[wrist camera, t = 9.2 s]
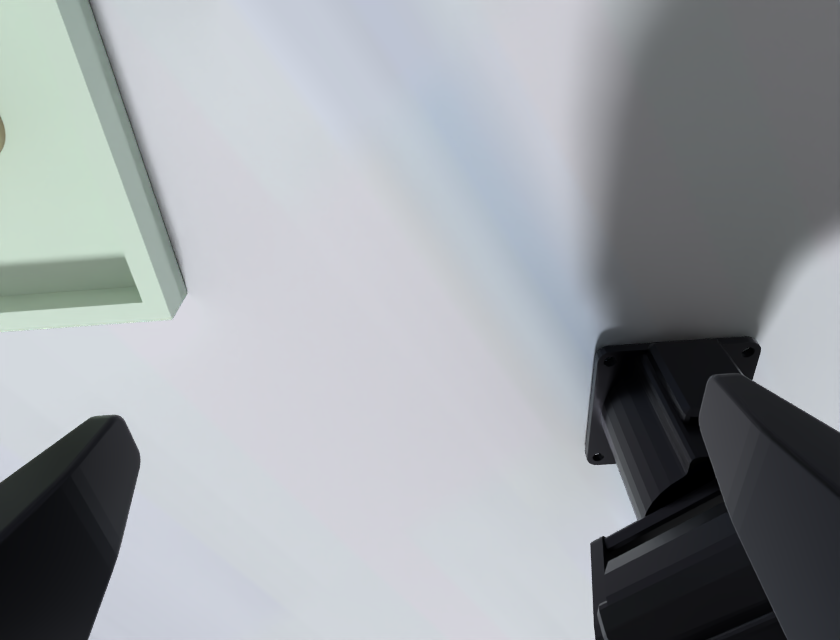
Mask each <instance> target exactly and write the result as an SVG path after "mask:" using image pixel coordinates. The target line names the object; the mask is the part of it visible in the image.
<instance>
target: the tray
mask: <svg viewBox="0 0 840 640" xmlns="http://www.w3.org/2000/svg"><path fill="white" fill-rule="evenodd" d="M0 117H1V119H2V121H3V124H4V128H5V134H6V138H5V145H4V147H3V149H2V151H1V153H0V332H10V331H24V330H38V329H51V328H65V327H79V326H93V325H107V324H121V323H135V322H149V321H163V320H172V319H173V318H174V316H175V314H176V312H177V311H178V309H179V307H180V306H181V304H182V302H183V300H184V299H185V297H186V295H187V291H186V288H185V285H184V282H183V279H182V276H181V273H180V270H179V267H178V264H177V261H176V258H175V255H174V252H173V249H172V246H171V243H170V240H169V237H168V234H167V232H166V229H165V226H164V223H163V220H162V217H161V214H160V211H159V208H158V205H157V202H156V199H155V196H154V193H153V190H152V187H151V184H150V181H149V178H148V175H147V172H146V169H145V166H144V164H143V161H142V158H141V155H140V152H139V149H138V146H137V143H136V140H135V137H134V134H133V131H132V128H131V125H130V122H129V119H128V116H127V113H126V110H125V107H124V104H123V101H122V99H121V96H120V93H119V90H118V87H117V84H116V81H115V78H114V75H113V72H112V69H111V66H110V63H109V60H108V57H107V54H106V51H105V48H104V45H103V42H102V39H101V36H100V33H99V31H98V28H97V25H96V22H95V19H94V16H93V13H92V10H91V7H90V4H89V1H88V0H0Z"/></svg>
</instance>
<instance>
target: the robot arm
mask: <svg viewBox="0 0 840 640" xmlns="http://www.w3.org/2000/svg"><path fill="white" fill-rule="evenodd" d="M748 347H749V349H747V350H746V351H743V350H744V349H745V348H748ZM760 352H761V347H760V345H759V344H758V343H757V341H756V340H755V339H754V338H752V337H747V336H745V337H731V338H716V339H699V340H684V341H670V342H656V343H644V344H629V345H615V346H606V347H603V348H601V349H599V351H598V352H597V353H596V355H595V362H594V372H593V381H592V390H591V400H590V409H589V419H588V428H587V437H586V447H585V454H586V457H587V461H588V462H589V463H590V464H593V465H604V464H617V467H618V469H619V472H620V475H621V477H622V480H623V483H624V485H625V488H626V491H627V493H628V496H629V499H630V501H631V504H632V507H633V510H634V512H635V515H636V518H637V520H638V521H636V522H634V523H632V524H630V525H628V526H626V527H625V528H623V529H621V530H619V531H617V532H615V533H613V534H612V535H610V536H608V537H604V536H602V537H600V538H599V539H597V540H595V541H593V542H591V544H590V545H591V568H592V591H593V614H594V630H595V640H840V432H838V431H837V430H835V429H833V428H832V427H830V426H828V425H827V424H825V423H823V422H822V421H820V420H818V419H816V418H815V417H813V416H811V415H810V414H808V413H806V412H805V411H803V410H801V409H800V408H798V407H796V406H794V405H793V404H791V403H789V402H788V401H786V400H784V399H783V398H781V397H779V396H778V395H776V394H774V393H772V392H771V391H769V390H767V389H766V388H764V387H762V386H761V385H759V384H757V383H756V382H754V381H752V379H753V376H754V373H755V369H756V366H757V363H758V359H759V356H760ZM608 357H613V358H612V359H611V360H608V361H605V359H606V358H608ZM598 453H599V454H598ZM595 454H597V455H595ZM139 469H140V453H139V450H138V448H137V446H136V444H135V441H134V439H133V437H132V435H131V433H130V431H129V429H128V427H127V424H126V422H125V421H124V419H123V418H122V417H121V416H119V415H103V416H94V417H91V418H89V419H88V420H86V421H85V422H84V423H82V424H81V425H79V426H78V427H77V428H75V429H74V430H72V431H71V432H70V433H68V434H67V435H66V436H64V437H63V438H61V439H60V440H59V441H57V442H56V443H55V444H53V445H52V446H50V447H49V448H48V449H46V450H45V451H43V452H42V453H41V454H39V455H38V456H37V457H35V458H34V459H32V460H31V461H30V462H28V463H27V464H26V465H24V466H23V467H21V468H20V469H19V470H17V471H16V472H14V473H13V474H12V475H10V476H9V477H8V478H6V479H5V480H3V481H2V482H1V483H0V640H88V638H89V636H90V633H91V630H92V627H93V625H94V622H95V619H96V616H97V613H98V611H99V608H100V605H101V602H102V600H103V597H104V594H105V591H106V589H107V586H108V583H109V580H110V578H111V575H112V572H113V569H114V566H115V563H116V560H117V557H118V554H119V550H120V546H121V543H122V539H123V535H124V530H125V526H126V522H127V518H128V514H129V510H130V506H131V502H132V497H133V493H134V489H135V485H136V481H137V477H138V473H139Z"/></svg>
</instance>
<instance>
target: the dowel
mask: <svg viewBox="0 0 840 640" xmlns="http://www.w3.org/2000/svg"><path fill="white" fill-rule="evenodd" d="M5 138H6V134H5V128H4V124H3V121H2V119H1V117H0V153H1V151H2V149H3V147H4V145H5Z"/></svg>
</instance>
